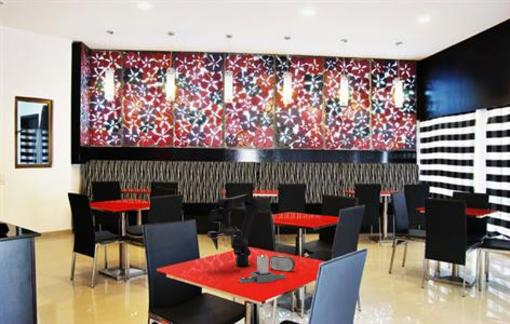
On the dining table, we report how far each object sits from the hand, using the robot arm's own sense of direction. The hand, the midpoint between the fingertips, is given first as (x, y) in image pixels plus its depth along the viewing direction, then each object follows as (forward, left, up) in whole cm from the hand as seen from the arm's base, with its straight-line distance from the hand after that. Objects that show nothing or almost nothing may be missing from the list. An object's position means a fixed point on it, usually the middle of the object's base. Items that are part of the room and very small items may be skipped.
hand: (224, 249), depth 247 cm
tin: (-28, +15, -12) cm, 34 cm away
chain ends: (-9, +27, -12) cm, 31 cm away
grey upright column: (-9, +27, -12) cm, 31 cm away
